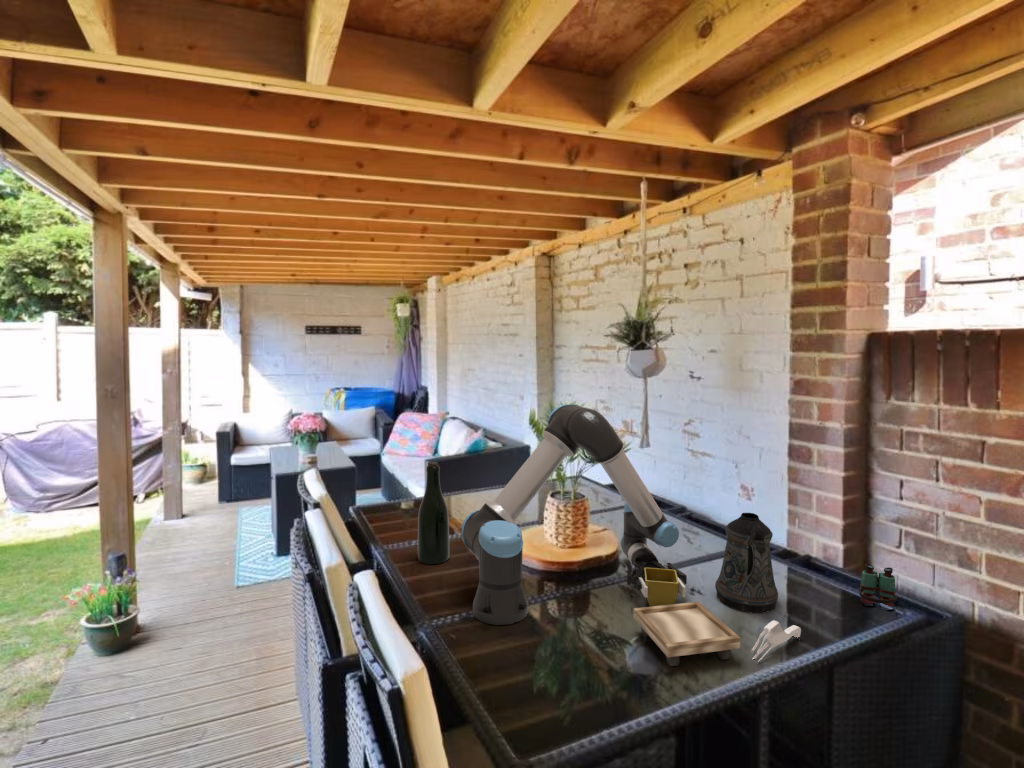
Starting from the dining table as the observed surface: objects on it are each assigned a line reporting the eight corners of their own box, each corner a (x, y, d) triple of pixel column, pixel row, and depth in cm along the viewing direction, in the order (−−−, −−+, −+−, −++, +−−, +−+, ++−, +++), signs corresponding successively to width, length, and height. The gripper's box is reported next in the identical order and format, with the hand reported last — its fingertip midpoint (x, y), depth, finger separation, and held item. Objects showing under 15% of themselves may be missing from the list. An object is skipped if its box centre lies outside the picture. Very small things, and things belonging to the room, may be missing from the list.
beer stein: (746, 583, 171) (750, 503, 169) (800, 612, 153) (804, 523, 151) (702, 592, 165) (705, 508, 163) (753, 623, 147) (756, 530, 145)
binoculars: (861, 575, 154) (860, 559, 162) (858, 610, 156) (858, 593, 164) (900, 582, 149) (897, 566, 158) (897, 619, 151) (895, 600, 160)
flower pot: (678, 615, 151) (679, 582, 150) (644, 612, 152) (645, 580, 152) (674, 600, 159) (675, 569, 159) (643, 597, 161) (644, 567, 160)
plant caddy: (667, 672, 125) (668, 646, 125) (633, 631, 143) (633, 608, 142) (739, 662, 129) (740, 637, 128) (697, 623, 146) (698, 601, 146)
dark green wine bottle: (428, 568, 181) (427, 467, 178) (412, 558, 189) (411, 461, 186) (455, 560, 188) (455, 462, 185) (438, 550, 196) (438, 457, 193)
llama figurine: (764, 686, 131) (803, 636, 139) (755, 648, 127) (795, 600, 136) (757, 682, 132) (796, 632, 141) (748, 645, 129) (788, 597, 138)
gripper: (678, 570, 174) (705, 605, 152) (606, 571, 173) (624, 606, 151) (678, 547, 174) (706, 578, 151) (607, 548, 173) (624, 579, 150)
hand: (665, 592), depth 151 cm, fingers closed on flower pot, 10 cm apart
